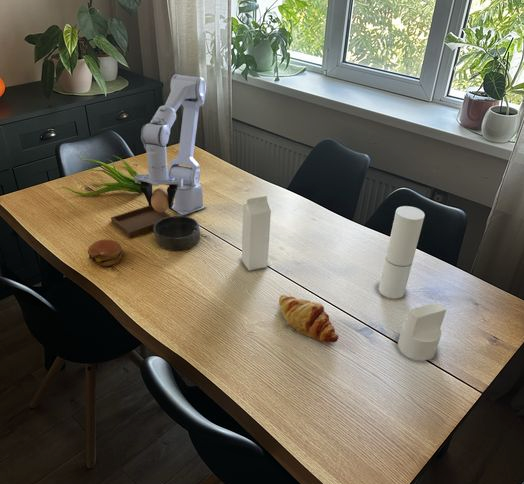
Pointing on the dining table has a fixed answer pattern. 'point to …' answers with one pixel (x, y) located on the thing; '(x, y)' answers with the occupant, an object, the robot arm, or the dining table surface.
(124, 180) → the decorative plant
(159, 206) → the egg
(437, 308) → the base with upright slab
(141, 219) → the tray
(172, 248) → the dark grey mixing bowl
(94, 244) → the burger
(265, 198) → the milk
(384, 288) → the cylindrical container
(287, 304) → the croissant
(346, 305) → the dining table surface
